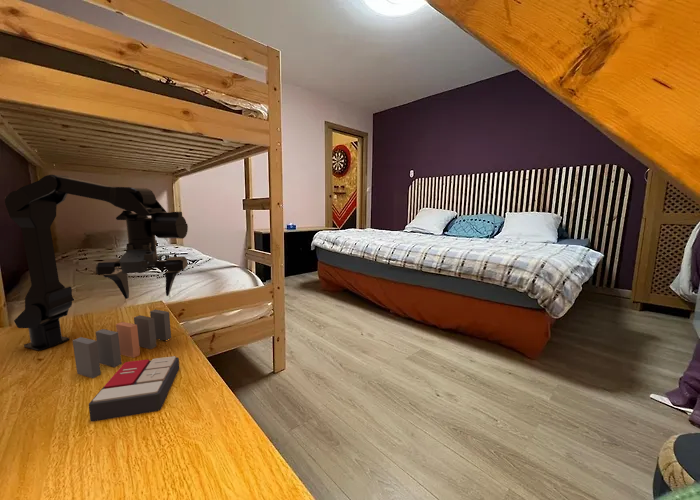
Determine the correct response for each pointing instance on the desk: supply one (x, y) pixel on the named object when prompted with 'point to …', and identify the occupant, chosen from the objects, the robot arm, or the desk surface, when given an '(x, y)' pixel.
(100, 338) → the domino
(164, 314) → the domino
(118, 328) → the domino
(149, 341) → the domino
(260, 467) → the desk surface
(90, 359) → the domino
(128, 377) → the calculator
